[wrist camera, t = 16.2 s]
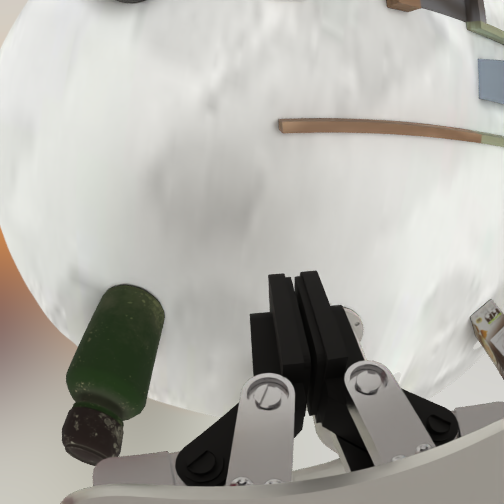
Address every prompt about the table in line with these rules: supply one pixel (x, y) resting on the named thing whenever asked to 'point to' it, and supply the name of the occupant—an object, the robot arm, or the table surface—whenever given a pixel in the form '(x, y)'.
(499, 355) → the coffee box
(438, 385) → the table surface
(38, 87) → the table surface
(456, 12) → the trap box
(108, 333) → the green bottle
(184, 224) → the table surface
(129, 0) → the mug
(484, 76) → the block
